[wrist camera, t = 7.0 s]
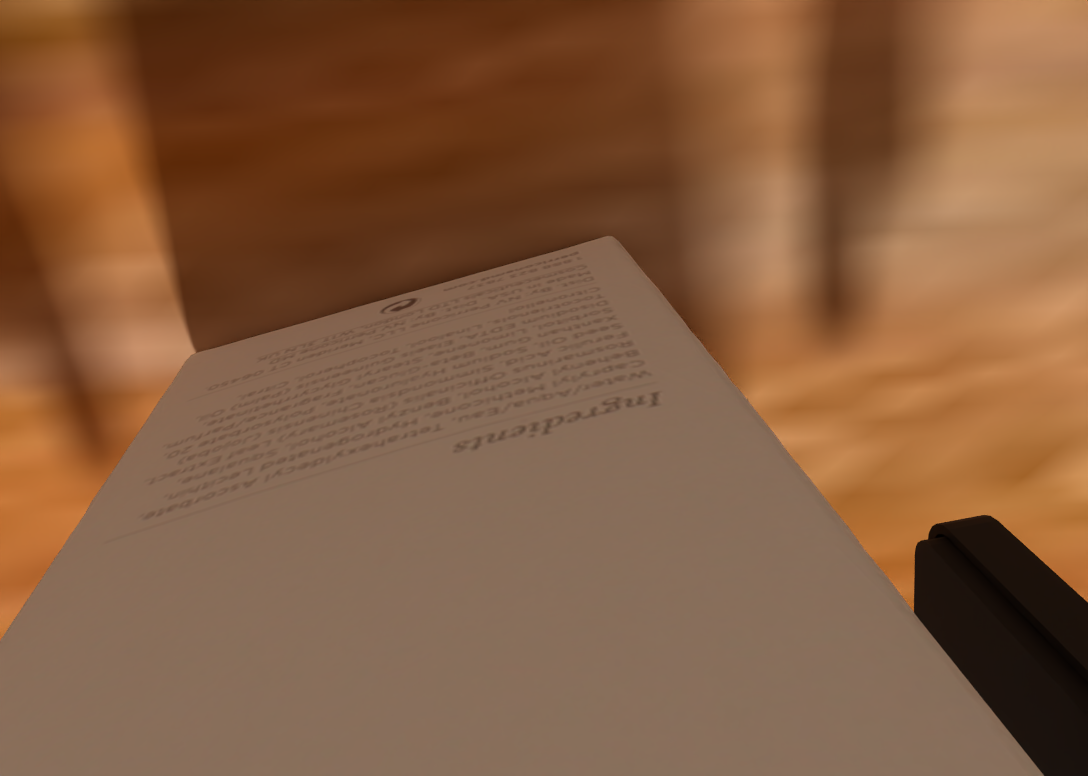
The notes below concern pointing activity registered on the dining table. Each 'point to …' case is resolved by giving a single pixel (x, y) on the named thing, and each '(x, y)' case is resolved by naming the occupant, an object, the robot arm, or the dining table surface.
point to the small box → (476, 565)
